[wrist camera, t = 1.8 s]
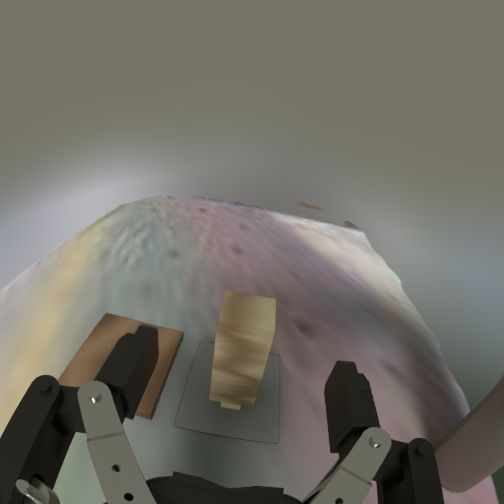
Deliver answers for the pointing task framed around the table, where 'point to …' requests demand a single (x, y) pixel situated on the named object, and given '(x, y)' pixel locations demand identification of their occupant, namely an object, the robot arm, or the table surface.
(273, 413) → the card
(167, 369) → the walnut board
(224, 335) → the maple block
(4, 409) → the table surface
